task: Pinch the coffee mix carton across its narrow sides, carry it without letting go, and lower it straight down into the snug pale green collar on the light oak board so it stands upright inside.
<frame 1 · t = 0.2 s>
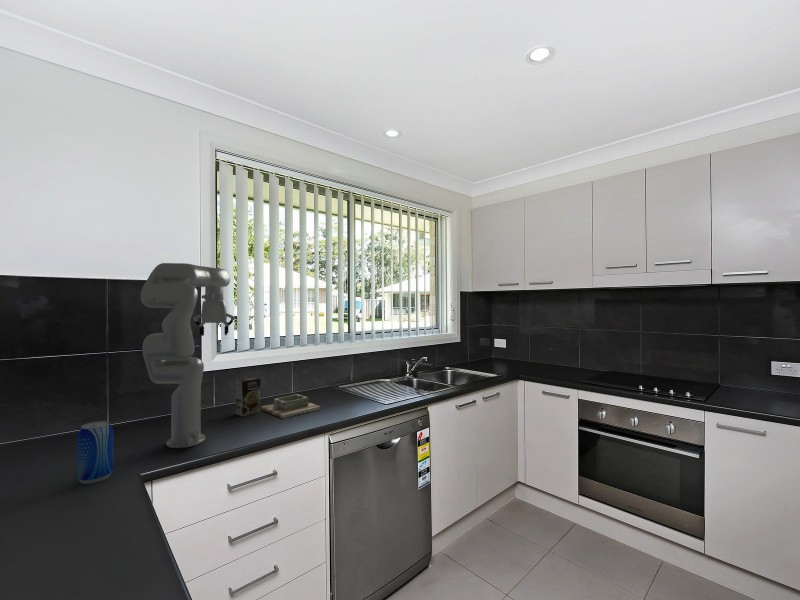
hand: (214, 335, 173), 37 cm above the worktop, tool pointing down, fingers open, 9 cm apart
collar board: (291, 409, 182), on the worktop
beer can: (95, 479, 112), on the worktop
coffee box: (248, 413, 176), on the worktop
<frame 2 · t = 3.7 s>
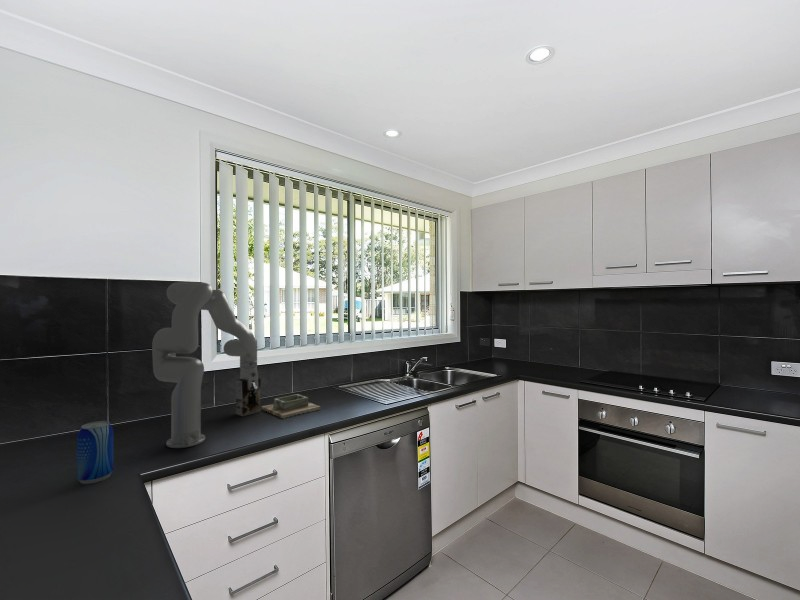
hand: (248, 402, 176), 5 cm above the worktop, tool pointing down, fingers closed on coffee box, 6 cm apart
coffee box: (248, 413, 176), on the worktop, touching gripper
everything else where it was.
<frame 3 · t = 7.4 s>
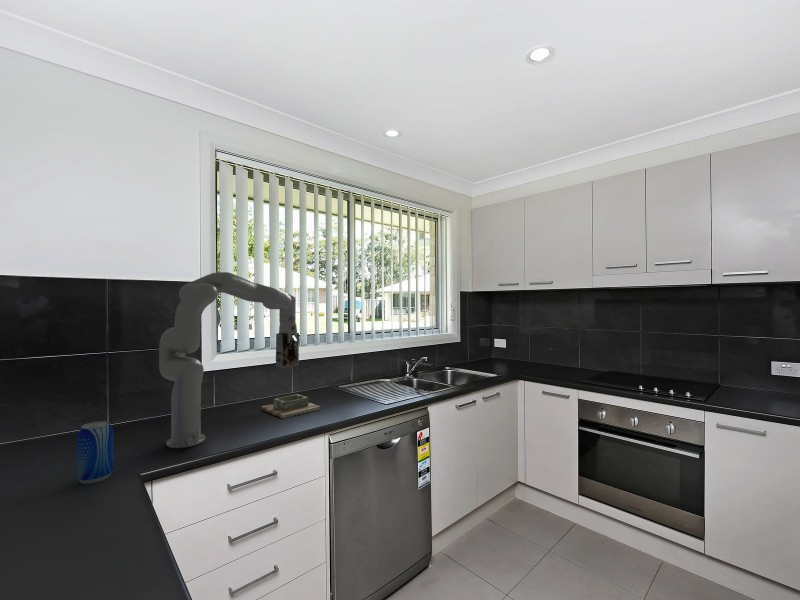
hand: (287, 356, 182), 26 cm above the worktop, tool pointing down, fingers closed on coffee box, 6 cm apart
coffee box: (287, 366, 182), point 21 cm above the worktop, touching gripper
everything else where it was.
when the fingers open (8 cm above the worktop, at t = 11.0 s): coffee box drops 1 cm, resting on collar board.
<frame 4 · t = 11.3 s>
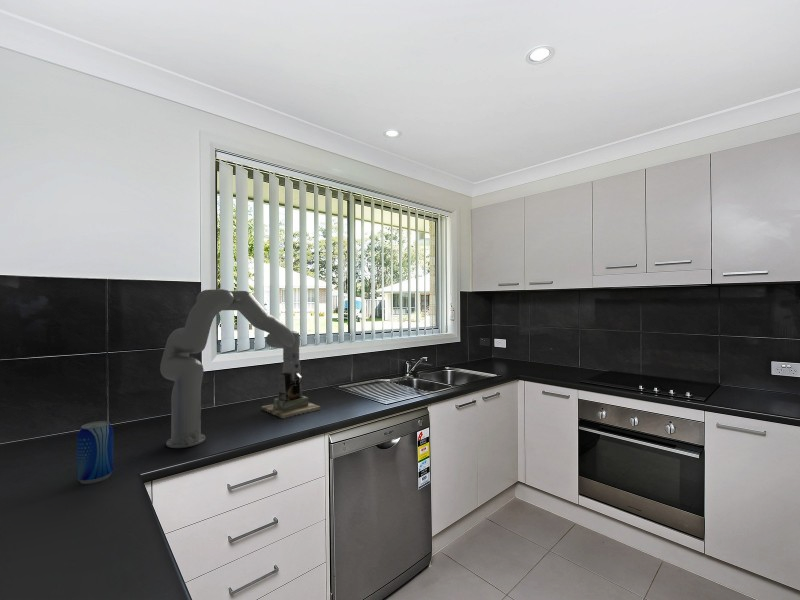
hand: (291, 391, 182), 8 cm above the worktop, tool pointing down, fingers open, 9 cm apart
coffee box: (290, 406, 182), point 1 cm above the worktop, touching collar board
everything else where it was.
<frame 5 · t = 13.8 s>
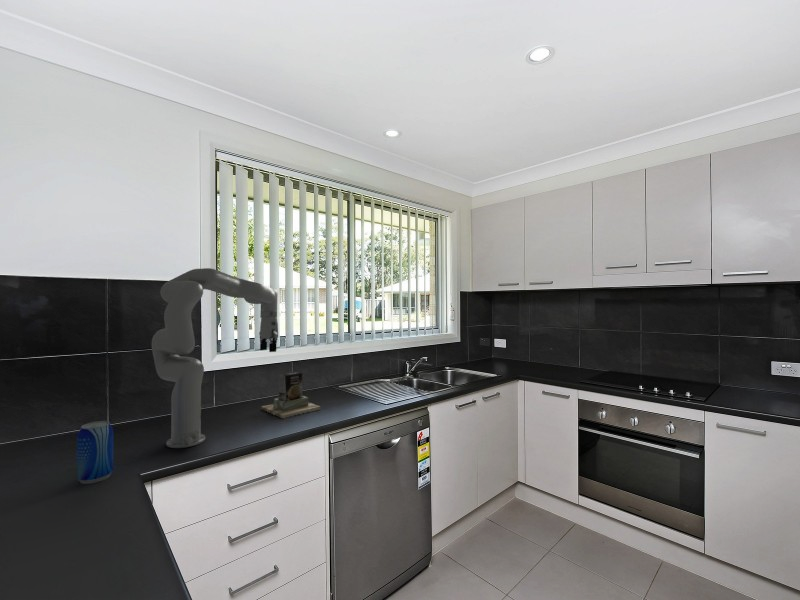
hand: (268, 350, 179), 29 cm above the worktop, tool pointing down, fingers open, 9 cm apart
nothing on the worktop moved.
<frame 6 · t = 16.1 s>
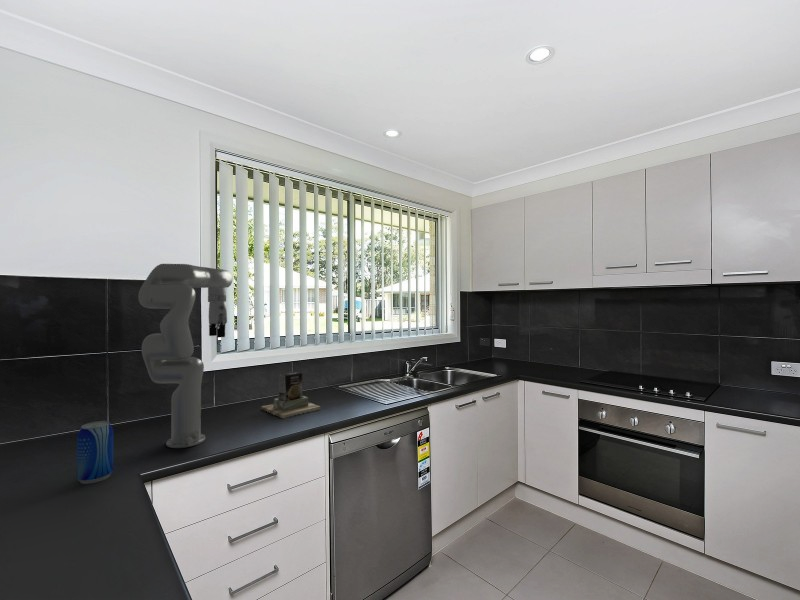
hand: (217, 336, 172), 36 cm above the worktop, tool pointing down, fingers open, 9 cm apart
nothing on the worktop moved.
at the end: coffee box 0.2 cm off-centre on the collar board, point 1.3 cm above the collar board's base; coffee box tilted 0°; the gripper is holding nothing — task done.
